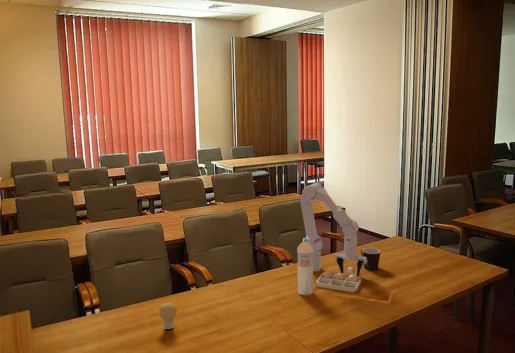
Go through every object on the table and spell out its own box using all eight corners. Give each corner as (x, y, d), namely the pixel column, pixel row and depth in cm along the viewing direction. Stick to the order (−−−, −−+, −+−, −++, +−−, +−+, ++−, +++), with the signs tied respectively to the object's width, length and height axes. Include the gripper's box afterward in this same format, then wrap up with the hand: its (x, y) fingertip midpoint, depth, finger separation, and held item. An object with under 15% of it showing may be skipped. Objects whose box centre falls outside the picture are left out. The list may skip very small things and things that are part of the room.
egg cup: (342, 279, 208) (343, 276, 208) (345, 275, 213) (345, 271, 213) (354, 281, 206) (354, 277, 205) (357, 276, 211) (357, 273, 210)
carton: (315, 288, 199) (315, 277, 198) (322, 278, 210) (322, 268, 209) (355, 294, 191) (355, 283, 190) (361, 283, 202) (361, 273, 202)
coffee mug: (382, 273, 214) (382, 253, 212) (364, 273, 214) (364, 253, 213) (376, 264, 226) (376, 245, 224) (359, 264, 226) (359, 246, 224)
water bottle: (295, 294, 193) (294, 240, 189) (301, 288, 199) (300, 235, 195) (309, 297, 190) (309, 242, 186) (315, 291, 196) (315, 237, 192)
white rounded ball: (344, 277, 208) (344, 268, 207) (346, 273, 212) (346, 265, 211) (353, 278, 206) (353, 269, 205) (355, 275, 210) (355, 266, 209)
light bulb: (170, 322, 171) (168, 298, 170) (181, 327, 167) (179, 302, 166) (157, 329, 166) (155, 304, 165) (167, 334, 162) (166, 309, 161)
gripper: (333, 247, 206) (333, 275, 208) (364, 251, 200) (364, 279, 202) (336, 243, 212) (336, 269, 215) (367, 246, 206) (366, 274, 209)
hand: (350, 274), depth 209 cm, fingers open, 7 cm apart
